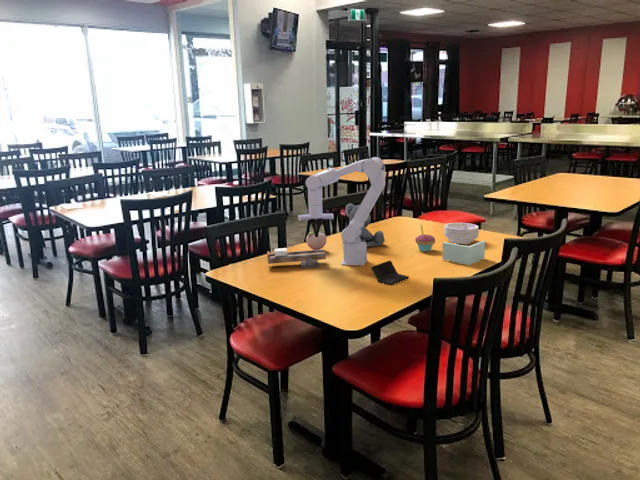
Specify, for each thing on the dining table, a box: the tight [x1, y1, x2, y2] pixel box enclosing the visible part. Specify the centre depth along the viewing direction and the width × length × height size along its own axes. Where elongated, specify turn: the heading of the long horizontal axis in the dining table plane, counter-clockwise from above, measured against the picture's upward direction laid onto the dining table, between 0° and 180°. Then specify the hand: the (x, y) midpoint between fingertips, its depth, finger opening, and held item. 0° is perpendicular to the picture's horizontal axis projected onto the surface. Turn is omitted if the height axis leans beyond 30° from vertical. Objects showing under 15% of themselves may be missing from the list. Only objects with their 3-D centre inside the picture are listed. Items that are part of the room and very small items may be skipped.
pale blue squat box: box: [442, 240, 486, 266], centre depth 209 cm, size 12×12×8 cm
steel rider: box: [274, 247, 288, 257], centre depth 209 cm, size 5×4×3 cm
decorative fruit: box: [305, 230, 328, 250], centre depth 229 cm, size 9×8×10 cm
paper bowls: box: [443, 222, 480, 245], centre depth 235 cm, size 15×15×8 cm
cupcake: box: [414, 224, 436, 252], centre depth 223 cm, size 9×8×12 cm
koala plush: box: [341, 203, 385, 248], centre depth 236 cm, size 17×18×20 cm
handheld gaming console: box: [371, 260, 410, 286], centre depth 189 cm, size 12×7×10 cm
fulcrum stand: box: [299, 258, 320, 270], centre depth 211 cm, size 7×10×4 cm
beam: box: [266, 248, 327, 265], centre depth 210 cm, size 23×7×4 cm, turn 95°
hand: (316, 236), depth 214 cm, fingers closed
